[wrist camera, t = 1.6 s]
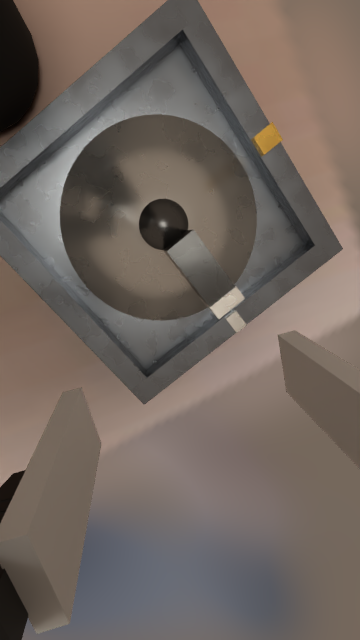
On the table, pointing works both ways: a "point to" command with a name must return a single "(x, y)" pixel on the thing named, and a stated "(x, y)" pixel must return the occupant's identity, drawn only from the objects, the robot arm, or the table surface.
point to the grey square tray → (147, 99)
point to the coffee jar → (15, 65)
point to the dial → (159, 218)
